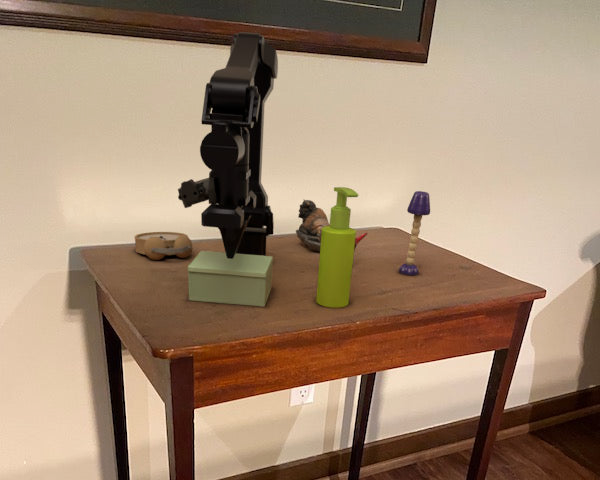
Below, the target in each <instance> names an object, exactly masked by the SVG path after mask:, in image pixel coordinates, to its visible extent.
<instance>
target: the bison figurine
mask: <svg viewBox="0 0 600 480" xmlns="http://www.w3.org/2000/svg"><path fill="white" fill-rule="evenodd" d="M297 217H298V218H299V219H302V220H301V222H302V223H301V224H300V225H299V227H298V229H296V230H295V233H296V237H297V238H298V239H299V240H300V241H301V242H303V243H304V244H305V245H306V246H308V248H309V249H310V250H311V251H316V252H320V247H321V234H322V228H323V227H325V226H327V225H330V221H329V219H328V216H327V214H326V213H325V211H324V209H322V208H321V207H317V205H316V203H315V202H314V201H313V200H310V199H303V202H302V204H299V209H298V216H297Z"/></svg>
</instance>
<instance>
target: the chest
mask: <svg viewBox="0 0 600 480" xmlns="http://www.w3.org/2000/svg"><path fill="white" fill-rule="evenodd" d="M273 261H274V260H273ZM273 261H272V263H271V266H270V268H269V270H268V273H267V275H266V277H265V278H262V277H250V276H238V275H226V274H214V273H202V272H191V271H188V270H187V273H188V274H187V275H188V277H187V278H188V279H187V280H188V301H191V302H193V301H194V302H204V303H205V302H206V303H214V304H215V303H217V304H226V305H227V304H228V305H240V306H251V307H263V308H264V307H266V304H267V302H268V298H269V296H270V294H271V290H272V287H273V286H272V285H273V263H274V262H273Z"/></svg>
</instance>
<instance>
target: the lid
mask: <svg viewBox="0 0 600 480" xmlns="http://www.w3.org/2000/svg"><path fill="white" fill-rule="evenodd" d="M272 261H274V256H271V255H266V256H260V255H248V254H236V253H235V256H234V258H233V259H228V258H227V256H226V252H221V251H210V250H209V251H208V250H200V251H199V253H198V254H197V255H196V256H195V258H194V259H193V260H192V261H191V262H190V263H189V265H188V266H187V272H188V271H191V272H202V273H214V274H226V275H238V276H250V277H262V278H265V277H266V275H267V273H268V270H269V268H270V266H271V263H272Z"/></svg>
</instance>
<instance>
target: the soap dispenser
mask: <svg viewBox="0 0 600 480" xmlns="http://www.w3.org/2000/svg"><path fill="white" fill-rule="evenodd" d="M333 191H334V192H336V202H335V203H336V205H333V206H331V208H330V214H329V225H330V226H325V227H323V228H322V234H321V247H320V251H319V258H318V259H319V261H318V274H317V286H316V288H317V289H316V298H315V302H316V304H317V305H319V306H323V307H325V308H332V309H333V308H334V309H340V308H345V307H347V306H348V305H349V302H350V293H351V282H352V276H353V275H352V274H353V264H354V263H353V262H354V256H355V250H354V246H355V238H357V237H356V235H357V230H356V229H354V228H352V227H350V222H351V212H352V210H351V208H350V207H349V206H348V205H347V204H348V203H347V202H348V198H358V197H359V194H358V192H356V191H355V190H354V189H352V188H350V187H345V186H337V187H336V186H335V187H333Z"/></svg>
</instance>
